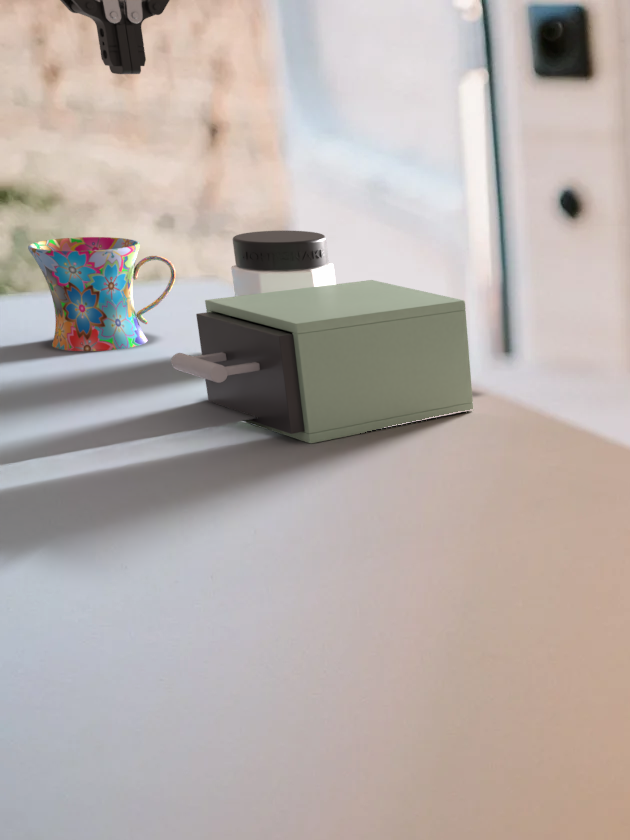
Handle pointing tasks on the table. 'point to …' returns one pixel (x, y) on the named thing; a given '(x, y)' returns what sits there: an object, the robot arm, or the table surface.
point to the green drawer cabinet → (366, 353)
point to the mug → (94, 291)
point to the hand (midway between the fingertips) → (125, 73)
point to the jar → (280, 262)
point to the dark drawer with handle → (248, 370)
